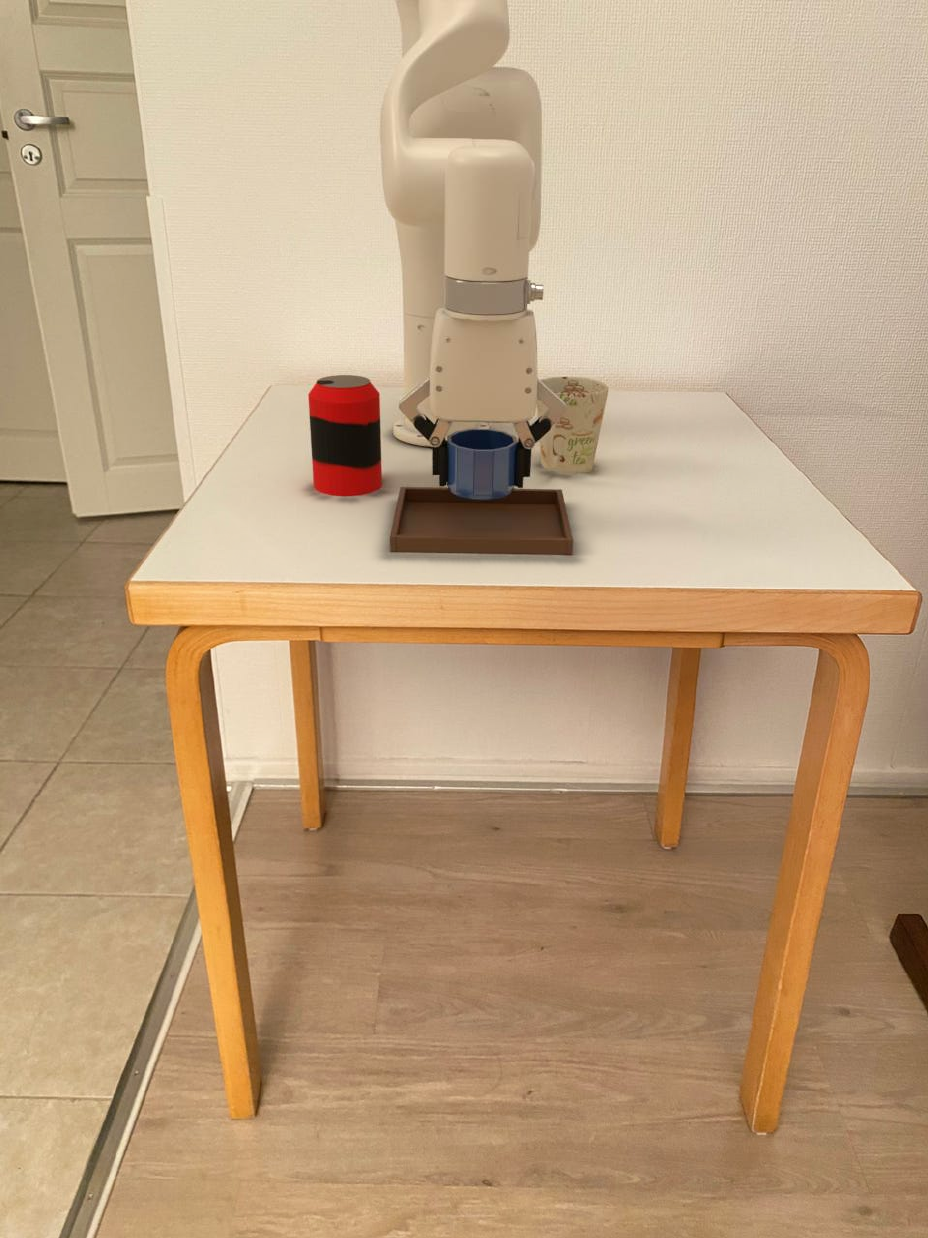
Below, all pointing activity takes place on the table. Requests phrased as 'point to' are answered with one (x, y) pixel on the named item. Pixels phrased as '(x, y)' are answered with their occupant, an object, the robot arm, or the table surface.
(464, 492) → the bowl
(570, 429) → the mug
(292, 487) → the table surface
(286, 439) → the table surface
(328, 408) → the soda can
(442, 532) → the tray
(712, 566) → the table surface
